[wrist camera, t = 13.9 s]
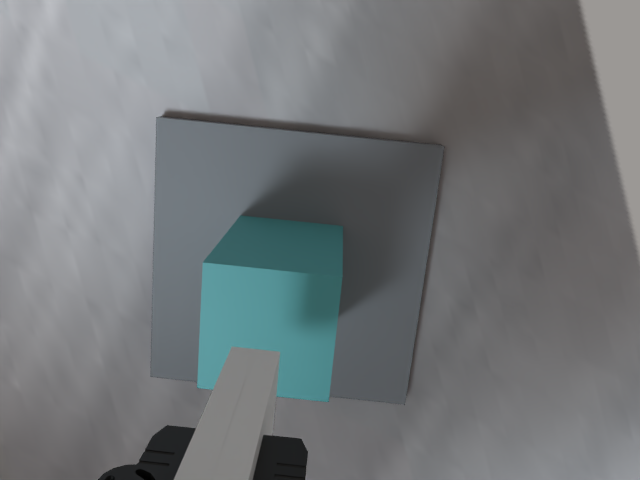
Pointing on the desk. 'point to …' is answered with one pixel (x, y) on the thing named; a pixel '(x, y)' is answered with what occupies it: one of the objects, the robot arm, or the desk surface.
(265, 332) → the teal rectangular block
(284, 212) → the stand
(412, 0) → the desk surface
